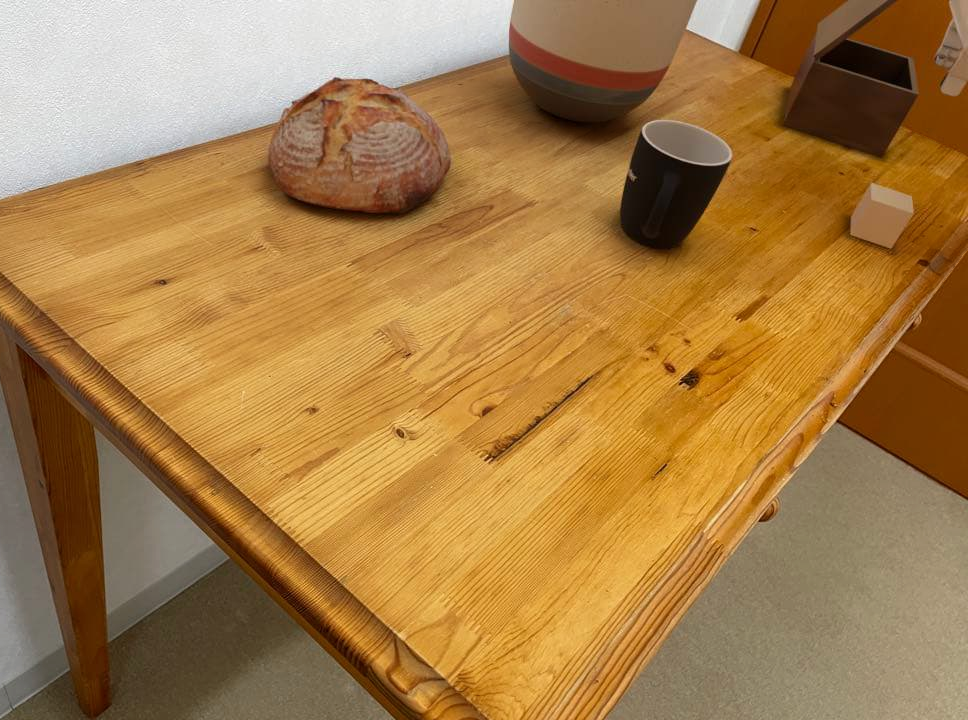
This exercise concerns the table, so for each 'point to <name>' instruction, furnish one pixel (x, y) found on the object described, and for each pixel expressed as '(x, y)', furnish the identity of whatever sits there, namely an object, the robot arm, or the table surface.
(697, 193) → the mug
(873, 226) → the block
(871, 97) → the chest
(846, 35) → the lid
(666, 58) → the planter
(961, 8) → the robot arm
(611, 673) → the table surface
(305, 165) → the bread
